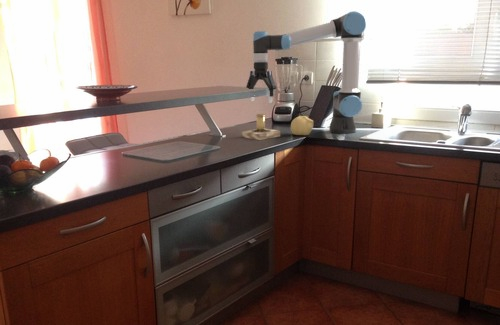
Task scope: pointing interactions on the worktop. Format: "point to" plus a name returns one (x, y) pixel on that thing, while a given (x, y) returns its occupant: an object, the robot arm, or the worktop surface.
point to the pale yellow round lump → (301, 125)
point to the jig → (260, 134)
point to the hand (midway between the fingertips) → (261, 102)
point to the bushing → (260, 122)
